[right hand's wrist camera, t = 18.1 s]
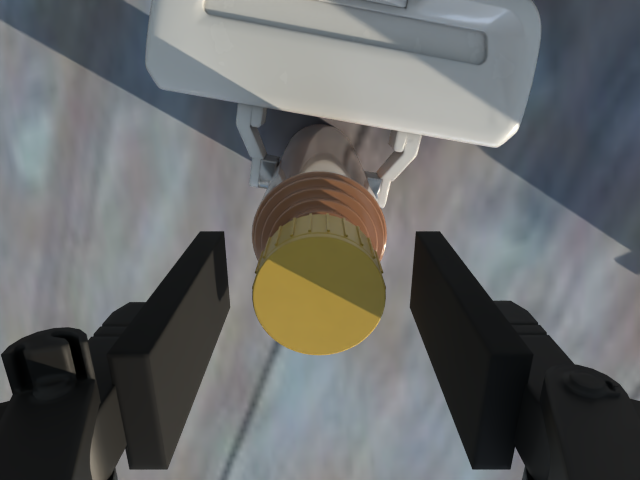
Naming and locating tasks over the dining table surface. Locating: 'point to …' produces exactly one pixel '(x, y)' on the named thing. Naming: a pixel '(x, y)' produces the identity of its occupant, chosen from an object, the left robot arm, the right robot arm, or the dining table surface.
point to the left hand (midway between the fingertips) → (317, 195)
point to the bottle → (319, 187)
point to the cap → (319, 285)
